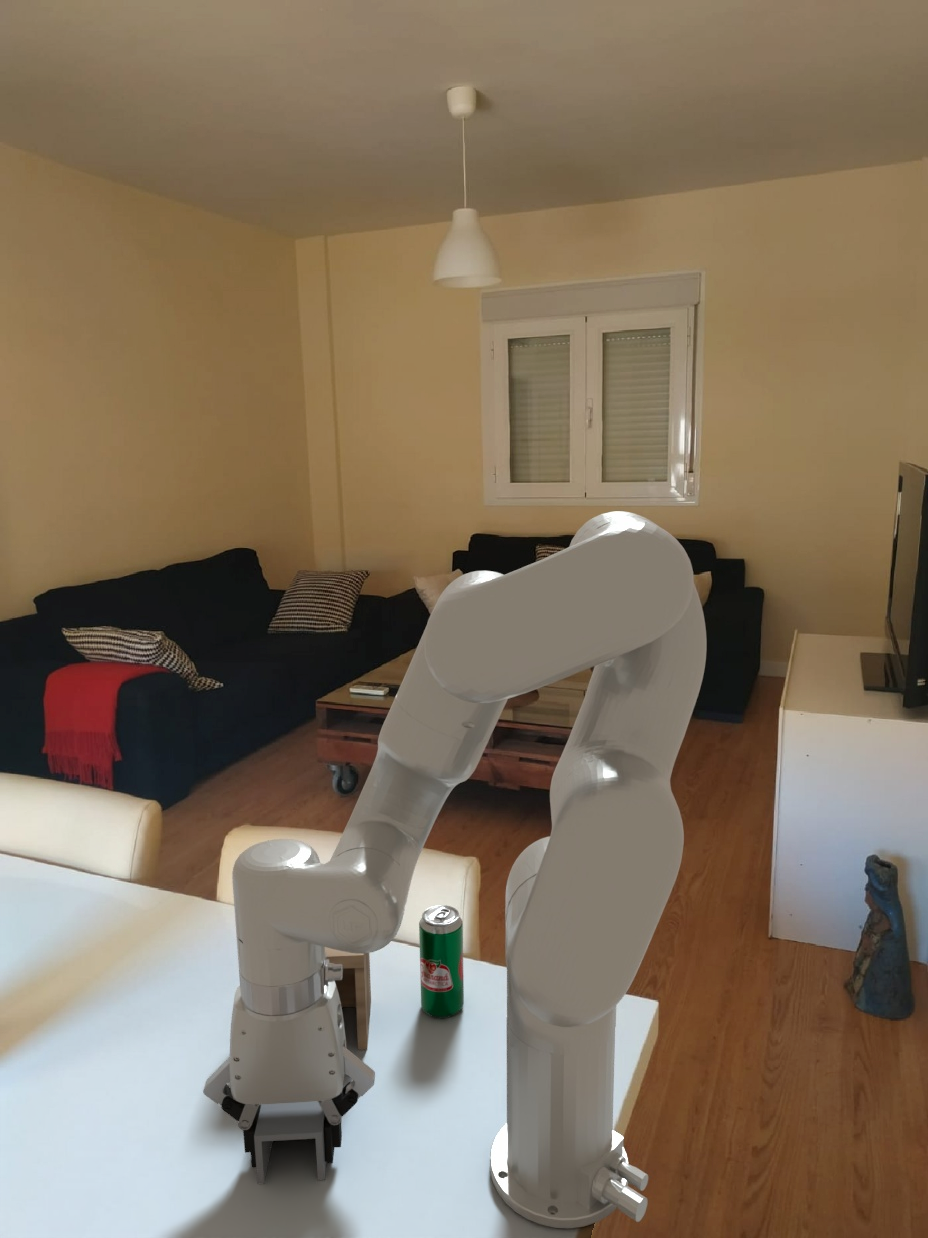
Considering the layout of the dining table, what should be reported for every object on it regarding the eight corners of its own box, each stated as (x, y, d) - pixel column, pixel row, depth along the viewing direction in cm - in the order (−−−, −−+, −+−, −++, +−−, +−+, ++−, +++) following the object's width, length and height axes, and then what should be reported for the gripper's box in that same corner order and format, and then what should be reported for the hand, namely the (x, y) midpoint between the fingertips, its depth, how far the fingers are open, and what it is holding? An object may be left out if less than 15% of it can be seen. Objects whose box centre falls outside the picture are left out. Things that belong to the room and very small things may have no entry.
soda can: (413, 1013, 101) (410, 919, 98) (434, 989, 105) (432, 899, 103) (450, 1026, 98) (449, 930, 96) (471, 1001, 103) (470, 909, 100)
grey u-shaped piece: (324, 1180, 78) (321, 1132, 77) (257, 1184, 77) (254, 1136, 76) (338, 1070, 91) (336, 1028, 90) (281, 1073, 91) (278, 1031, 90)
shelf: (367, 1049, 95) (363, 955, 92) (257, 1055, 94) (250, 960, 92) (371, 1000, 103) (367, 913, 101) (269, 1005, 102) (264, 917, 100)
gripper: (382, 951, 80) (388, 1117, 84) (195, 959, 80) (210, 1127, 83) (379, 1002, 73) (386, 1182, 77) (173, 1012, 72) (190, 1193, 76)
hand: (294, 1152), depth 80 cm, fingers closed on grey u-shaped piece, 6 cm apart
